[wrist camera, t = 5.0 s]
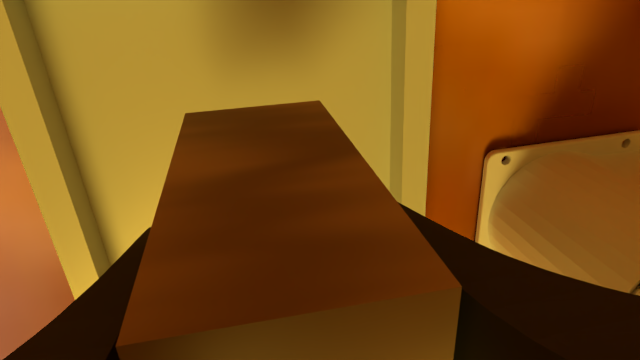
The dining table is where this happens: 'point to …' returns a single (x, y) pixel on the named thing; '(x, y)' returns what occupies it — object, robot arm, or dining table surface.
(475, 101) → the dining table surface
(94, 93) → the cream square frame
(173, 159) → the walnut peg
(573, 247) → the robot arm
